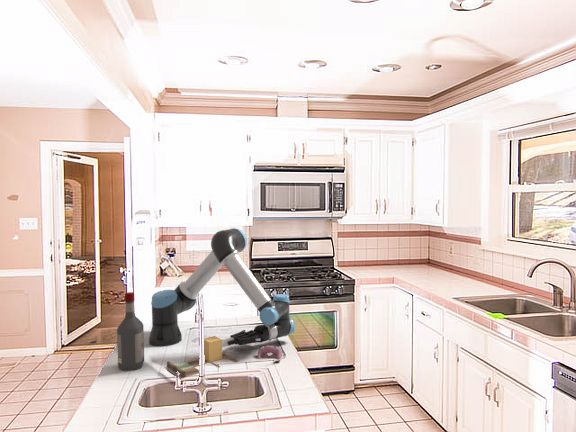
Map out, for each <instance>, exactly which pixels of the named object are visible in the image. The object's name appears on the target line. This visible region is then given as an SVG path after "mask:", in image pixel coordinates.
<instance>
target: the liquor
mask: <svg viewBox="0 0 576 432" xmlns="http://www.w3.org/2000/svg"><path fill="white" fill-rule="evenodd" d="M124 303H125V316H124V318H123V319H122V321H121V322H120V324H119V325H118V327H117V329H116V338H117V344H116V345H117V368H118V369H119V370H120V371H126V372H127V371H137V370H139V369H141V368H142V366H143V365H144V363H145V334H144V333H145V332H144V329H145V328H144V324H143V321H141V320H140V319H139V318H138V317H137V316H136V313H135V292H131V291H130V292H125V293H124Z"/></svg>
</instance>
